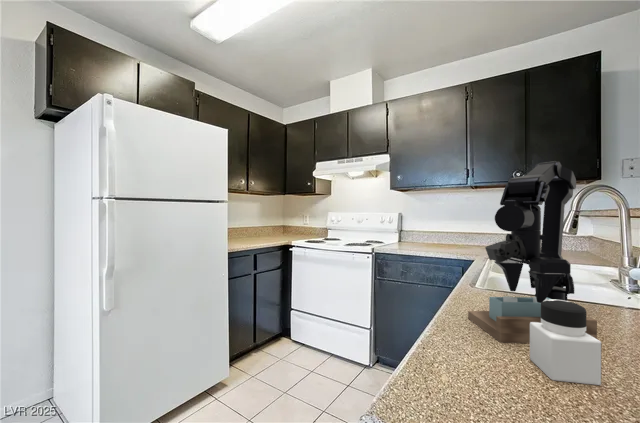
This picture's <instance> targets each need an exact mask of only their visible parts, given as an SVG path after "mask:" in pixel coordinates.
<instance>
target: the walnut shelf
mask: <svg viewBox="0 0 640 423" xmlns="http://www.w3.org/2000/svg"><path fill="white" fill-rule="evenodd" d="M467 319H468V320H470V322H472V323H474V324H475V325H476V326H478V327H479V328H480V329H481V330H483V331H484V332H486V333H487V334H488V335H490V336H491V337H492V338H493V339H495V340H496V341H498V342H499V343H503V344H504V343H505V344H506V343H507V344H530V322H538V323H541V317H510V316H496V321H495V320H493V319H491V318H490V317H489V310H468V311H467ZM585 333H587V334H589V335H591V336H592V337H594V338H596V339H598V320H597V319H594V318H592V317H586V331H585Z"/></svg>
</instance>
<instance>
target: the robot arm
mask: <svg viewBox="0 0 640 423" xmlns="http://www.w3.org/2000/svg"><path fill="white" fill-rule="evenodd" d="M574 173H575V172H574V171H573V170H572V169H569V168H567V167H565V166H563V165H562V164H561V162H560V161H556V160H554V161H545V162H539V163H536V164H535V167H534V168H533V169H531V170H530V171H528V173H526V174H525V175H522V176H516V177H511V178H509V179H508V180H507V181H508V182H507V183H506V184H505V186H504V190H503V192H502V196H501V199H500V202H499V205H500V206H501V207H500V208H498V210H496V212H495V214H494V222H495V224H496V226H497V227H498V228H499V229H500V230H502V231H504V232H505V231H506V232H510V233H507V234H506V235H505V239H504V240H502V241H498V242H495V243H492V244H489V245H487V246H485V247H484V248H485V251H486V253H487V256H488V259H489V260H490V261H493V263H494V264H496V265H497V266H498V267H500V268H501V269H502V272H503V273H504V277H505V279H506V282H507V285H508V289H509V291H510V292H516V291H517V288H518V285H519V281H520V277H521V274H522V270H523V266H524V265H528V267H529V270H528V274H529V282H530V288H531V289H534V290H535V293H534V297H536V299H537V302H538V303H541V302H543V301H544V300H545V299H546V297H547V298H550V299H556V300H564V301H568V295H570V294H571V295H572V294H573V295H575V282H574V278H573V276H572V274H571V269H572V267H571V263H570V262H569V261H568V260H567V259H564V258H563V255H562V250H563V235H564V234H563V233H564V220H565V208H566V207H565V205H567V203H568V202H569V201H570V200H571V199H572V198H573V196H574V190H576V188H577V179H576V176H575V174H574ZM543 204H544V206H543V217H542V209H541V205H543ZM542 218H543V219H542ZM542 220H543V221H542Z"/></svg>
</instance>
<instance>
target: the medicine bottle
mask: <svg viewBox="0 0 640 423" xmlns="http://www.w3.org/2000/svg"><path fill="white" fill-rule="evenodd" d="M586 318H587V309H586V308H585V307H583V306H582V305H580V304H578V303H575V302H572V301H569V300H567V301H564V300H556V299H550V300H545V301H543V302H541V323H538V322H530V343H529V359H530V361H531V362H532V363H533V364H535V366H537V368H538V369H540V370H541V371H542V372H543V373H544V374H545V375H546V377H549V379H550V380H552V381H557V382H567V383H574V384H575V383H576V384H583V385H584V384H585V385H593V386H601V385H602V341H601V340H599V339H598V338H597V339H596V338H594V337H592V336H591V335H589V334H587V333H585V331H586Z"/></svg>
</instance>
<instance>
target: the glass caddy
mask: <svg viewBox="0 0 640 423" xmlns="http://www.w3.org/2000/svg"><path fill="white" fill-rule="evenodd" d="M488 299H489V300H488V302H489V303H488V304H489V305H488V309H489V310H488V311H489V317H490V318H491V319H493V320H495V321H496V316H510V317H541V303H538V302H537V299H536V297H535V296H533V297H532V296H529V297H527V296H525V297H524V296H511V295H510V296H509V295H505V296H489V297H488ZM545 300H550V298H547V297H546V299H545ZM545 300H544V301H545Z"/></svg>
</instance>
